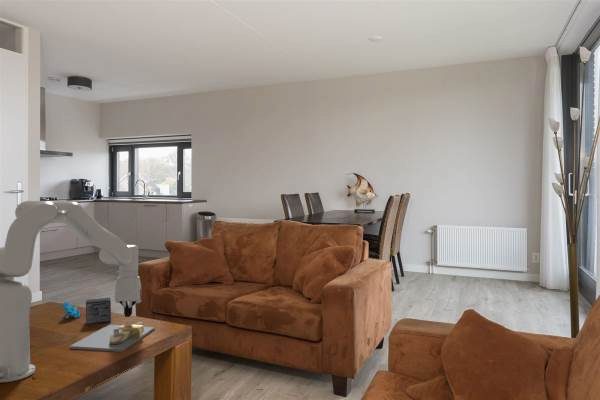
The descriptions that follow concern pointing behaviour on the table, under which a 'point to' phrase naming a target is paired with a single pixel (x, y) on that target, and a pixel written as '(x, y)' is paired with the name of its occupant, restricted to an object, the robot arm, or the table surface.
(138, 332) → the keeper
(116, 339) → the link
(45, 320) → the table surface
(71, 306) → the blue irregular piece
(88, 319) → the small box
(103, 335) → the board
